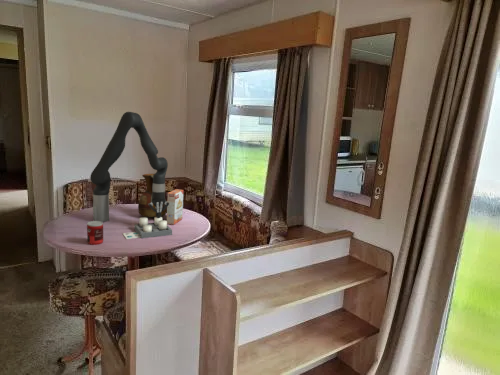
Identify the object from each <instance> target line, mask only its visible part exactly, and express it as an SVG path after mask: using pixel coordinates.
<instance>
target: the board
mask: <svg viewBox="0 0 500 375" xmlns="http://www.w3.org/2000/svg"><path fill="white" fill-rule="evenodd" d="M148 225H151V226H152V232H143V227H140V226H139V223H136V224H134V225H133V226H134V227H133V228H134V232H137V233H138V234H139V235H140V236H141V238H140V239H147V238H157V237H165V236H172V235H173V229H172V228H171V227H169V225H167V229H166V230H159V226H155V225H154V222H148Z"/></svg>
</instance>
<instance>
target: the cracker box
mask: <svg viewBox="0 0 500 375" xmlns="http://www.w3.org/2000/svg"><path fill="white" fill-rule="evenodd" d="M166 201H167V202H168V203H169V205H168V206H167V213H166V221H167V225H173V226H174V225H176V224H178V223H179V222H180V221H182V220H183V208H184V189H178V188H176V189H173V190H172V191H169V192H167V199H166Z"/></svg>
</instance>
